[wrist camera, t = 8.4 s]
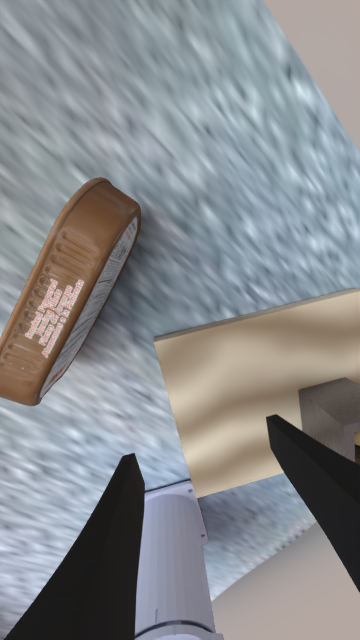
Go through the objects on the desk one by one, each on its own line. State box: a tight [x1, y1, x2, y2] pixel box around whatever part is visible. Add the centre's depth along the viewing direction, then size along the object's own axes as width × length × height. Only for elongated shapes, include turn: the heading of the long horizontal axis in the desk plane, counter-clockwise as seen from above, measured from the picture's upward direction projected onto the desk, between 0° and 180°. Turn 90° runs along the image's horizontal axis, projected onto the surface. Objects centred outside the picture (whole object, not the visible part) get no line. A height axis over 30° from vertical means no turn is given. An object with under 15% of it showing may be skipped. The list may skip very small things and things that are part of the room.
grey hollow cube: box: [298, 377, 360, 465], centre depth 18 cm, size 5×5×5 cm
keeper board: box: [154, 289, 360, 498], centre depth 18 cm, size 18×20×6 cm
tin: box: [0, 177, 141, 406], centre depth 13 cm, size 15×3×8 cm, turn 150°
